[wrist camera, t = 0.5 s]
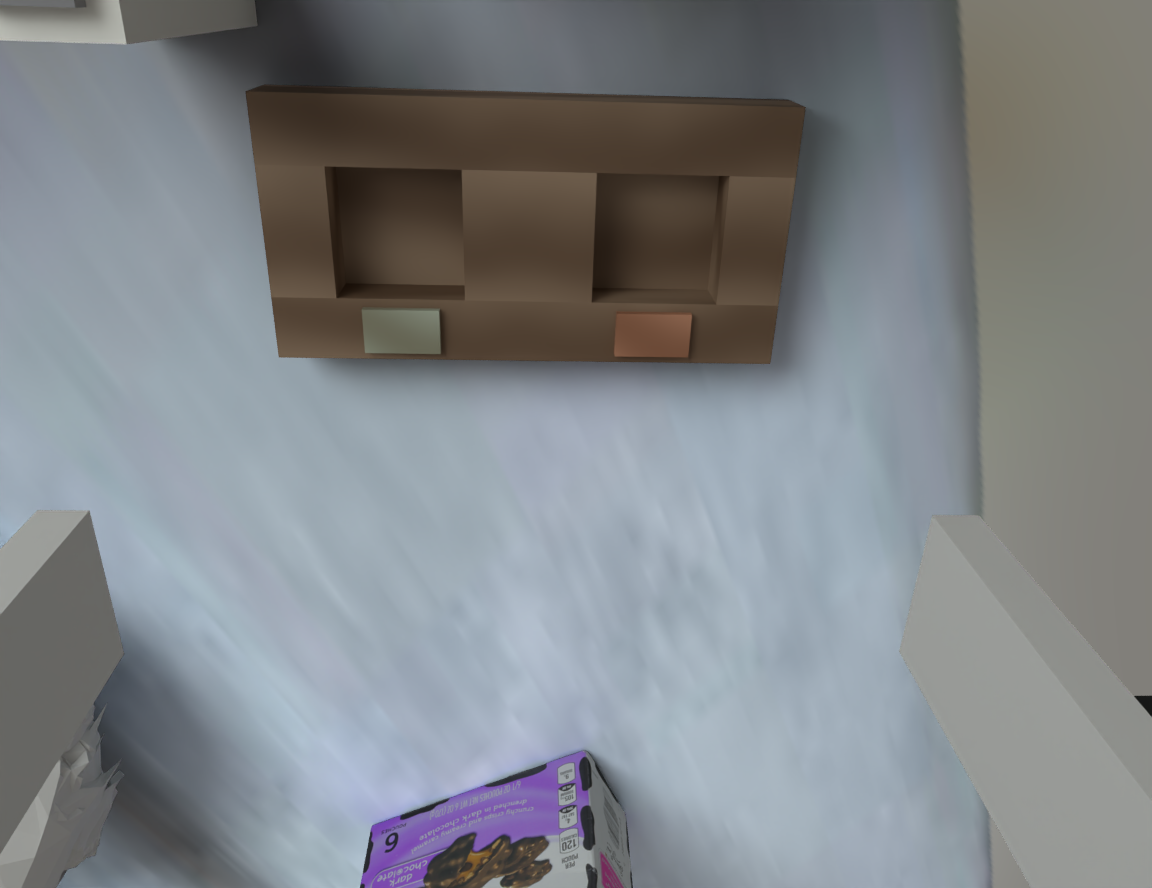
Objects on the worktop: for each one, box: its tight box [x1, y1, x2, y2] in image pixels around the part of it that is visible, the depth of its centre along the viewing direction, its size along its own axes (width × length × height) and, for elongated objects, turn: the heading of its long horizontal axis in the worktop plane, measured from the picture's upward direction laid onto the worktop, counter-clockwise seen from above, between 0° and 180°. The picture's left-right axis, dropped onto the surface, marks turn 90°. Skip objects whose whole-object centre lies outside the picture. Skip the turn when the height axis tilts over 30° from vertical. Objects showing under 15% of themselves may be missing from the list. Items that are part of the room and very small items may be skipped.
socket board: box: [246, 85, 806, 364], centre depth 35 cm, size 10×20×3 cm, turn 88°
